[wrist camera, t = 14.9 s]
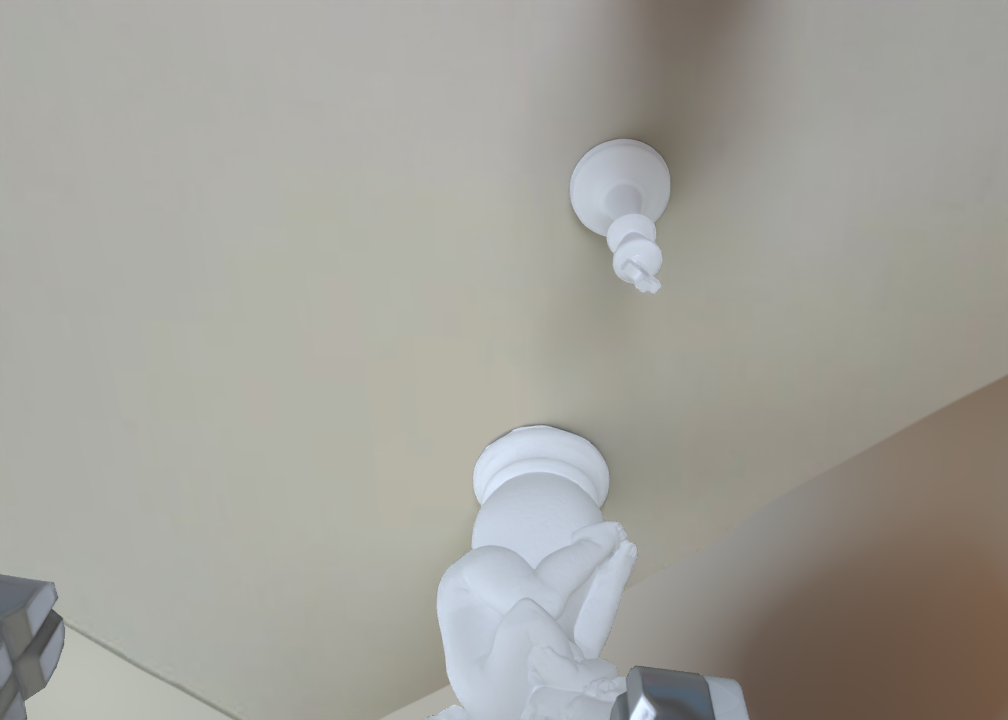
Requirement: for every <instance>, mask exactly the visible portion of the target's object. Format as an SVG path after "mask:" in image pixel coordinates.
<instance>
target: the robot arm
mask: <svg viewBox="0 0 1008 720" xmlns="http://www.w3.org/2000/svg"><path fill="white" fill-rule="evenodd" d="M57 599H58V595H57V592H56V588H55V585H54V582H47V581H41V580H34V579H28V578H21V577H15V576H8V575H2V574H0V720H27V714H26V707H25V700H27V699H28V698H30V697H31V696H33V695H34V694H36V693H37V692H39V691H40V690H42V689H43V688H45V687H46V685H47V683H48V682H49V680H50V678H51V676H52V674H53V672H54V671H55V669H56V667H57V664H58V661H59V658H60V655H61V652H62V649H63V646H64V638H65V626H64V621H63V618H62V617H61V616H60V615H59V614H57V613H56V612H55V611H54V610H53V609H52V607H53V606H54V604H55V602H56V601H57ZM626 688H627V691H626V692H624V693H622V694H620V695H618V696H617V698H616V700H615V702H614V705H613V707H612V709H611V715H610V720H749V716H748V712H747V708H746V704H745V700H744V696H743V692H742V689H741V687H740V685H739V684H738V682H737V681H736V680H733V679H730V678H722V677H713V676H706V675H700V674H699V673H691V672H684V671H676V670H668V669H659V668H651V667H644V666H634V667H633V668H631V669H630V671H629V673H628V675H627V677H626Z"/></svg>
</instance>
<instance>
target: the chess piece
mask: <svg viewBox="0 0 1008 720" xmlns="http://www.w3.org/2000/svg"><path fill="white" fill-rule="evenodd" d="M569 191H570V199H571V203H572V206H573V208H574V210H575V212H576V214H577V216H578V218H579V219H580V221H581V222H582V223H583V224H584V225H585V226H586V227H587V228H589V229H590V230H592V231H593V232H595V233H597V234H599V235H602V236H606V237H607V243H608V246H609V248H610V250H611V251H612V252H613V253H614V257H613V268H614V271H615V273H616V274H617V276H618V277H619V278H620V279H622V280H623V281H625V282H628V283H632V284H635V287H636V288H637V289H638V290H640V291H641V292H642V293H645V292H646V291H647V290H648V291H650V292H651V293H652V294H654V293H655V292H656V291H657V290H658V289H659V288H660V287H661V284H660V281H658V280H657V279H656V278H655V276H656V275H657V274H658V272H659V271H660V269H661V266H662V262H663V257H662V253H661V250H660V249H659V247H658V246H657V245H656V244H655V241H656V235H657V233H656V228H655V225H654V223H655V222H656V221H657V220H658V219H659V218H660V217H661V215H662V214H663V212H664V210H665V209H666V206H667V204H668V201H669V197H670V174H669V170H668V167H667V165H666V163H665V161H664V160H663V158H662V157H661V155H660V154H659V153H658V152H657V151H656V150H654V149H653V148H652V147H650V146H649V145H647V144H645V143H643V142H640V141H636V140H632V139H616V140H610V141H607V142H604V143H602V144H599V145H598V146H596V147H594V148H593V149H591V150H590V151H589V152H587V153H586V154H585V155H584V156H583V157H582V158H581V160H580V161H579V162H578V164H577V165H576V167H575V169H574V171H573V174H572V177H571V181H570V190H569Z"/></svg>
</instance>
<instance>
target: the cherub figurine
mask: <svg viewBox="0 0 1008 720" xmlns="http://www.w3.org/2000/svg"><path fill="white" fill-rule="evenodd" d="M609 483H610V477H609V471H608V467H607V465H606V463H605V460H604V458H603V457H602V455H601V454H600V452H599V451H598V450H597V448H596V447H595V446H594V445H592V444H591V443H590V442H589V441H588V440H587V439H584V438H583V437H580V436H578V435H575V434H572V433H569V432H567V431H564V430H560V429H557V428H553V427H550V426H544V425H542V426H541V425H538V426H529V427H525V426H524V427H519V428H518V429H514V430H513V431H512V432H510V433H508V434H507V435H505V436H503V437H501V438H500V439H498V440H497V441H495V442H494V443H492V444H490V445H489V446H486V448H485V449H484V451H483V452H482V454H481V456H480V458H479V459H478V461H477V463H476V465H475V468H474V473H473V487H474V492H475V495H476V497H477V499H478V502H479V503H480V504H481V506H482V507H481V509H480V511H479V513H478V515H477V518H476V520H475V524H474V528H473V534H472V550H471V551H469V552H468V553H466V554H465V555H463V556H462V557H461V558H460V559H458V560H457V561H456V562H455V563H453V564H452V565H451V566H450V567H449V568H448V569H447V571H446V572H445V573H444V575H443V577H442V579H441V581H440V584H439V588H438V594H437V615H438V620H439V625H440V630H441V634H442V639H443V645H444V652H445V659H446V669H447V674H448V678H449V681H450V683H451V686H452V688H453V690H454V692H455V694H456V696H457V698H458V700H459V701H460V702H461V704H462V705H463V707H459V706H457V705H451V706H450V707H449V708H447V709H445V710H442V711H440V712H439V715H438V716H435V715H432V716H428V717H427V718H426V720H610V715H611V709H612V707H613V705H614V702H615V700H616V698H617V696H618V695H620V694H622V693H624V692H626V691H627V688H626V678H625V677H621V676H619V672H618V670H617V668H616V667H615V665H614V664H613V663H612V662H610V661H608V660H606V659H599V657H600V654H601V651H602V649H603V647H604V645H605V643H606V641H607V639H608V637H609V634H610V631H611V629H612V625H613V623H614V620H615V617H616V614H617V611H618V608H619V604H620V601H621V596H622V592H623V590H624V588H625V586H626V584H627V582H628V579H629V577H630V574H631V571H632V568H633V566H634V564H635V562H636V560H637V556H638V553H637V548H636V545H635V543H631V542H629V541H628V540H627V534H626V532H625V530H624V529H623V528H622V526H621V525H620V524H619V522H617V521H616V522H613V521H605V522H604V519H603V516H602V513H601V511H600V508H601V506H602V505H603V503H604V502H605V499H606V497H607V494H608V491H609Z"/></svg>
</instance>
